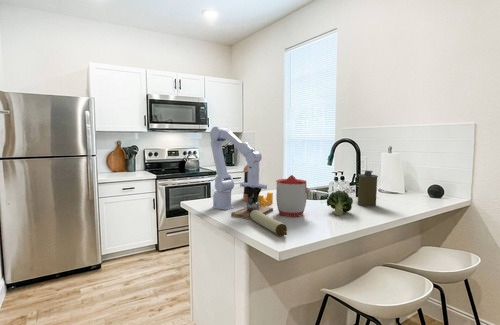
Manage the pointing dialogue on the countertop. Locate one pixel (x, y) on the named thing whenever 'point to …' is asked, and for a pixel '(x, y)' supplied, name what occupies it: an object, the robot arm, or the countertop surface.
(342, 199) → the vegetable
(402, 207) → the countertop surface
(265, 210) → the base plate
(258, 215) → the beige long cylinder
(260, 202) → the pipe clamp
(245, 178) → the whiskey bottle
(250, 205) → the twist cap
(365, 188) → the canister
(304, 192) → the citrus juicer
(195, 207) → the countertop surface
